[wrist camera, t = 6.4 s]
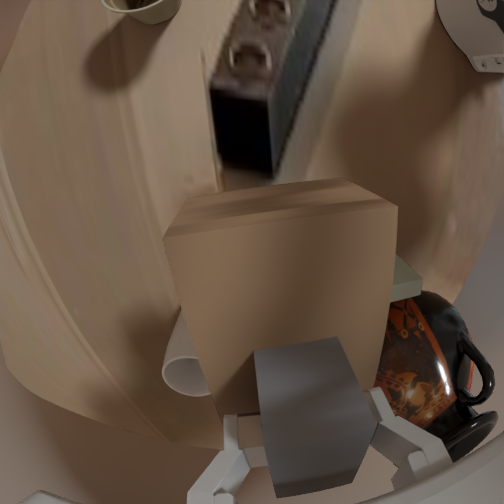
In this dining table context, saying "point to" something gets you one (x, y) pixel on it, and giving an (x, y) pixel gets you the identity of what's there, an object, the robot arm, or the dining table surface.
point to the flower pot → (145, 9)
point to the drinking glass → (183, 363)
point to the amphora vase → (435, 372)
